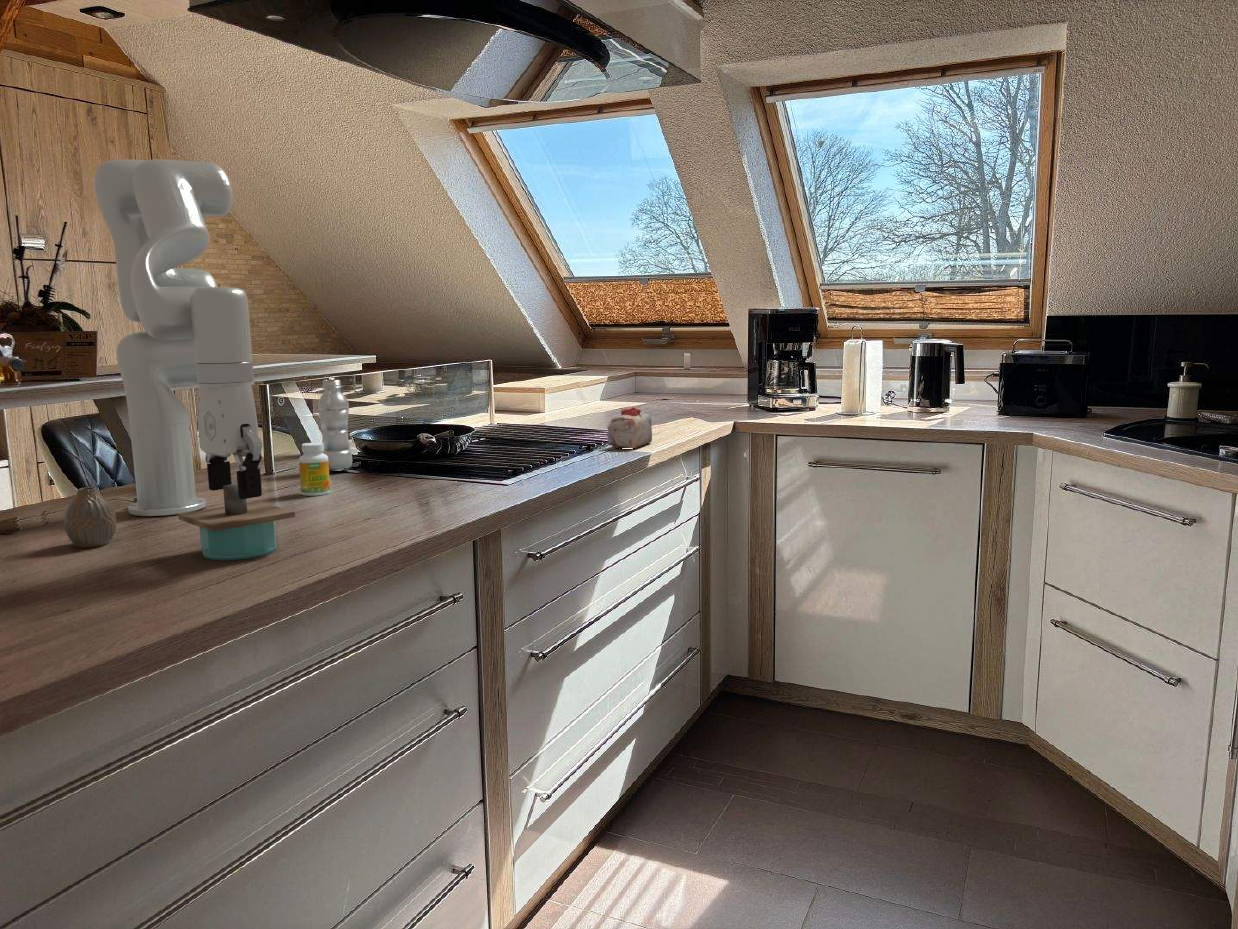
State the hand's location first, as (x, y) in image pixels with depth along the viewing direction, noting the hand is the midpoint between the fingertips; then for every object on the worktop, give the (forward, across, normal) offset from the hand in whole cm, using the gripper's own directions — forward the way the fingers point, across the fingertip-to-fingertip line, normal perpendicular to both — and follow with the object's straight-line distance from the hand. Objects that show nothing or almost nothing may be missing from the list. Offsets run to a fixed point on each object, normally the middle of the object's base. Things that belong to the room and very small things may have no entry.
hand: (235, 493), depth 138 cm
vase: (+9, -22, -13) cm, 27 cm away
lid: (+4, 0, 0) cm, 4 cm away
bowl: (+9, 0, 0) cm, 9 cm away
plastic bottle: (+9, -53, +46) cm, 71 cm away
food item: (+9, -28, +113) cm, 117 cm away
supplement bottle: (+9, -33, +30) cm, 45 cm away
